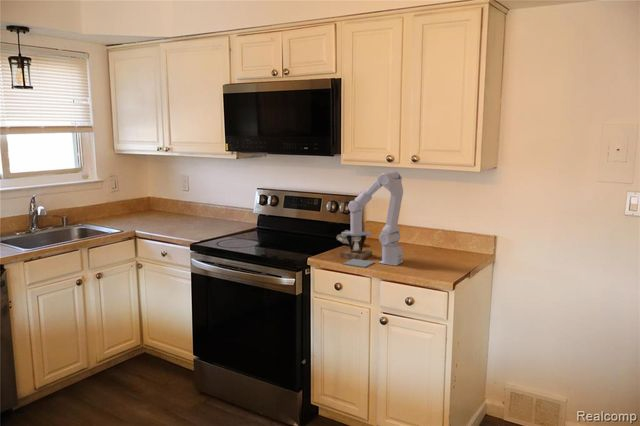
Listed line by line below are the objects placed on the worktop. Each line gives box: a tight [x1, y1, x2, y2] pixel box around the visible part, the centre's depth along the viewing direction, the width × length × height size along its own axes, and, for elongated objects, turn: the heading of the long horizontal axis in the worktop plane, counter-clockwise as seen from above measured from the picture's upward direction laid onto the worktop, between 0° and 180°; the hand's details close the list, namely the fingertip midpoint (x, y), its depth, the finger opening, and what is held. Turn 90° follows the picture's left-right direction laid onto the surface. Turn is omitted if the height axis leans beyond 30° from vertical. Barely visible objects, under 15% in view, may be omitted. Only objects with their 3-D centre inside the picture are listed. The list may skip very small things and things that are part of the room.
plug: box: [352, 240, 361, 253], centre depth 261 cm, size 4×4×8 cm
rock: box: [335, 229, 361, 246], centre depth 288 cm, size 18×10×10 cm
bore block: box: [339, 248, 373, 260], centre depth 261 cm, size 12×12×2 cm
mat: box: [342, 259, 375, 268], centre depth 247 cm, size 12×10×1 cm
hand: (356, 250), depth 261 cm, fingers open, 4 cm apart
